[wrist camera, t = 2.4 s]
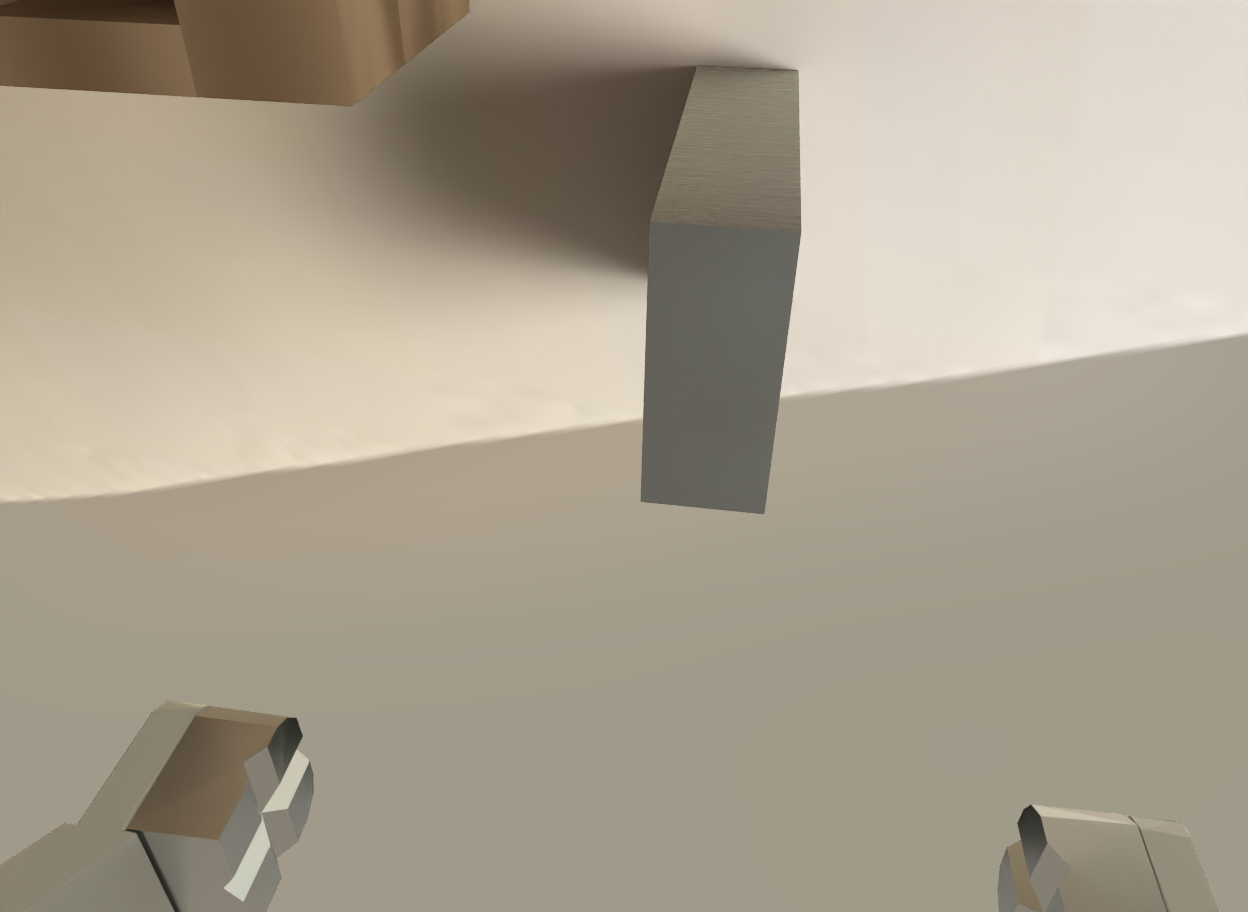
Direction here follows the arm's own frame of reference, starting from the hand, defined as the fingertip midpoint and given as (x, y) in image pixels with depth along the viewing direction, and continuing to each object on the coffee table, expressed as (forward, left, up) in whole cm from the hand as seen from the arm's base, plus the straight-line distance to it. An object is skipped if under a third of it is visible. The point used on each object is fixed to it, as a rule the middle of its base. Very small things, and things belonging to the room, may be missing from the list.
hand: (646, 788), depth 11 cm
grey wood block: (0, 0, -19) cm, 19 cm away
